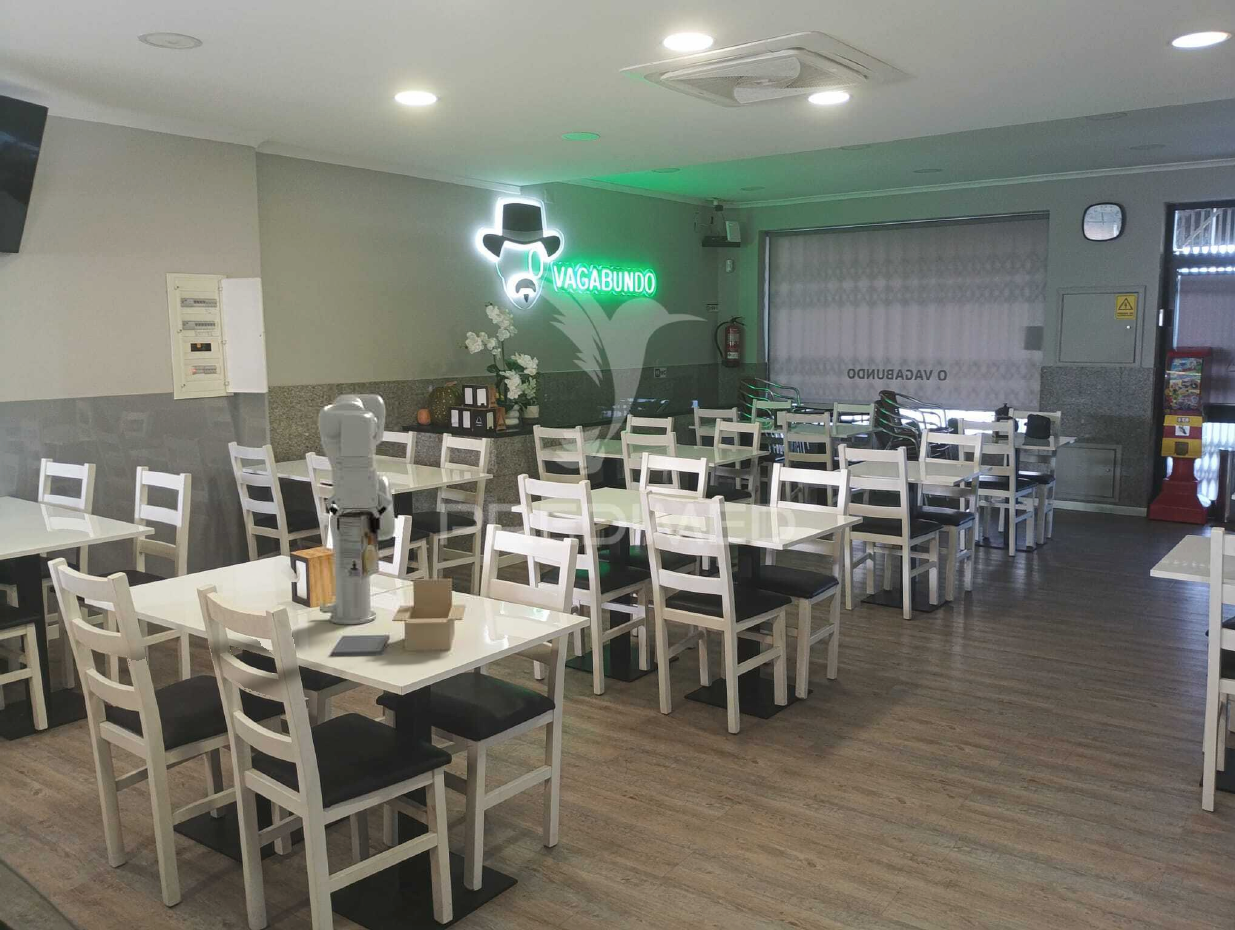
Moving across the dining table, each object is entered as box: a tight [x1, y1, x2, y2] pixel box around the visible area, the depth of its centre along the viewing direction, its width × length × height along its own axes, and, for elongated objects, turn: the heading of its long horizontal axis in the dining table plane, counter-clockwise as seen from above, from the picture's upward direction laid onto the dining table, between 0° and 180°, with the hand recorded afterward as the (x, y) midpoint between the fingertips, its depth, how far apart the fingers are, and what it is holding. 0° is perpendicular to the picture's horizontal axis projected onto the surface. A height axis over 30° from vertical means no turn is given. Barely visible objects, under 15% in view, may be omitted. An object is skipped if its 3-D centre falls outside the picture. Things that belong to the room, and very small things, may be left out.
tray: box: [331, 634, 391, 657], centre depth 239 cm, size 12×14×1 cm
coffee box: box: [338, 510, 380, 580], centre depth 236 cm, size 9×6×16 cm
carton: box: [392, 578, 467, 652], centre depth 241 cm, size 17×17×15 cm
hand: (358, 532), depth 236 cm, fingers closed on coffee box, 7 cm apart
